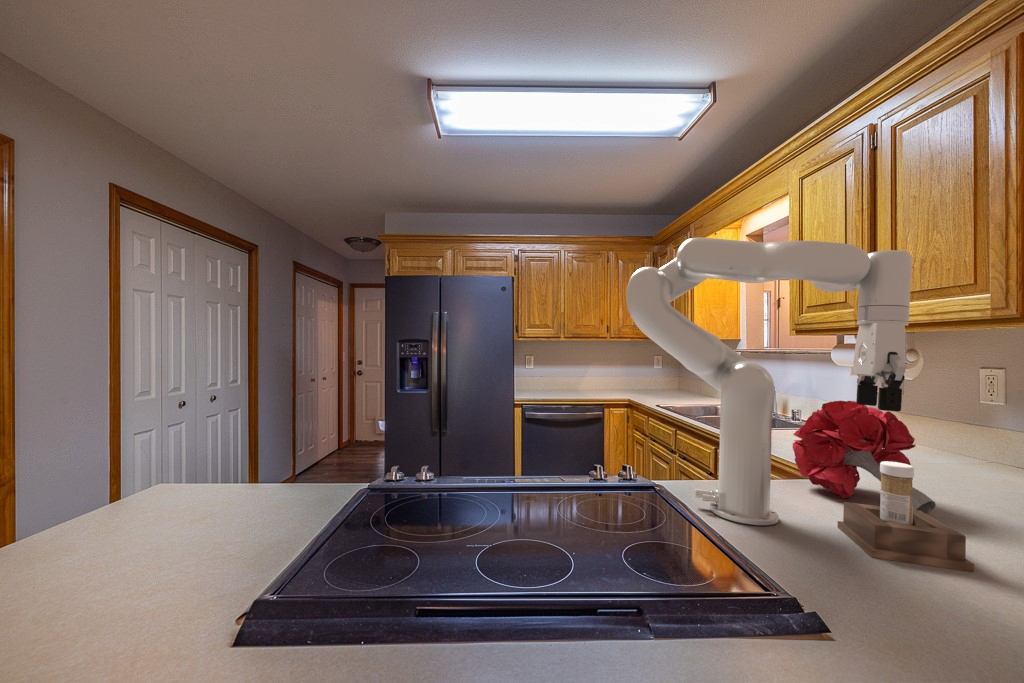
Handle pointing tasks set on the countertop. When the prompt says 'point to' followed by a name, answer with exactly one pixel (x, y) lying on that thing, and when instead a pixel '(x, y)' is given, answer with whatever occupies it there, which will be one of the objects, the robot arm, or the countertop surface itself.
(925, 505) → the bouquet
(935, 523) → the socket block
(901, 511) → the sprinkles bottle
